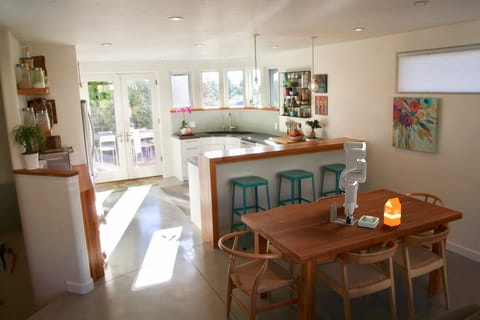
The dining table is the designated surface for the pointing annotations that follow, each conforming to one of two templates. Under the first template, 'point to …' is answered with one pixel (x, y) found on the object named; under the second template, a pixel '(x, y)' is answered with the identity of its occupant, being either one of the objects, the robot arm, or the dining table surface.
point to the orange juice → (392, 212)
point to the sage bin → (365, 224)
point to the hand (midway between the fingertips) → (349, 222)
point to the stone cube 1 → (369, 219)
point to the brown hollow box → (338, 219)
